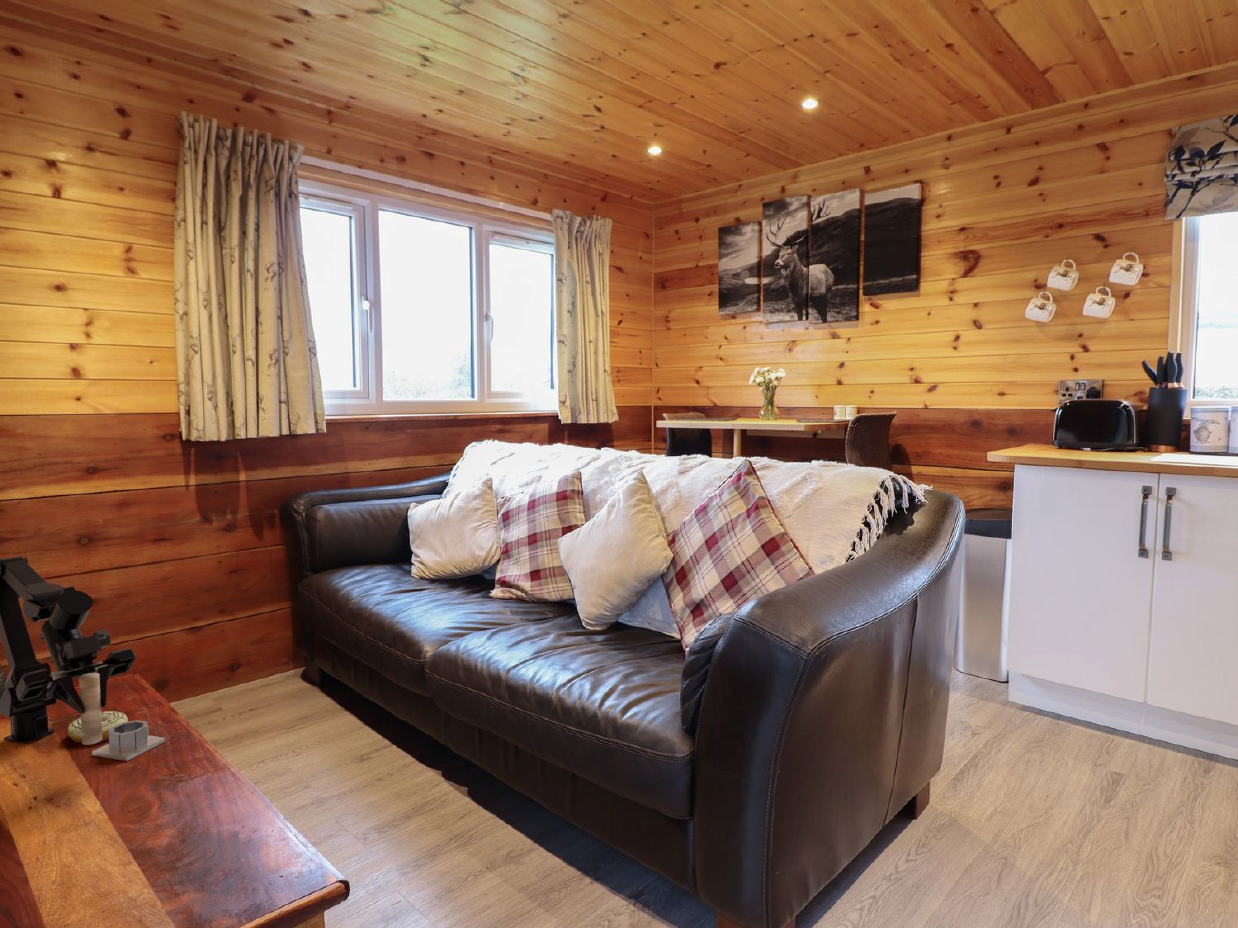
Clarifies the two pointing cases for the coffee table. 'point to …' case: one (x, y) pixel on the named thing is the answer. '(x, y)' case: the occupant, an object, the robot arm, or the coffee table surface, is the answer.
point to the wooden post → (90, 708)
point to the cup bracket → (128, 741)
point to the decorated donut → (108, 722)
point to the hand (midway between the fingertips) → (94, 709)
